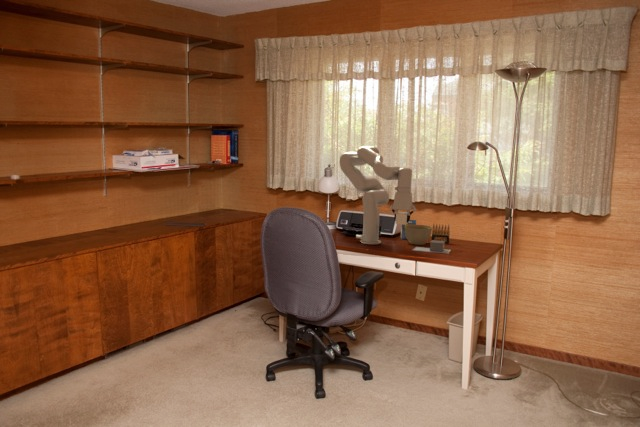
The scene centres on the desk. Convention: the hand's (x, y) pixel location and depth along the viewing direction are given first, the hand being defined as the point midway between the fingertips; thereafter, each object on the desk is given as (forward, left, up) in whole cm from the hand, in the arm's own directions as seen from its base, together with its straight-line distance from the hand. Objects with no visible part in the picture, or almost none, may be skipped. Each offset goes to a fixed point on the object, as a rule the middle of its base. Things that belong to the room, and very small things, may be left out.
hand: (401, 221), depth 320 cm
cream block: (0, 0, -1) cm, 1 cm away
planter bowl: (+6, +18, -16) cm, 25 cm away
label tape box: (-2, +36, -16) cm, 39 cm away
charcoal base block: (+20, 0, -15) cm, 25 cm away
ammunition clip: (+19, +29, -16) cm, 38 cm away
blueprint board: (+18, 0, -16) cm, 24 cm away
